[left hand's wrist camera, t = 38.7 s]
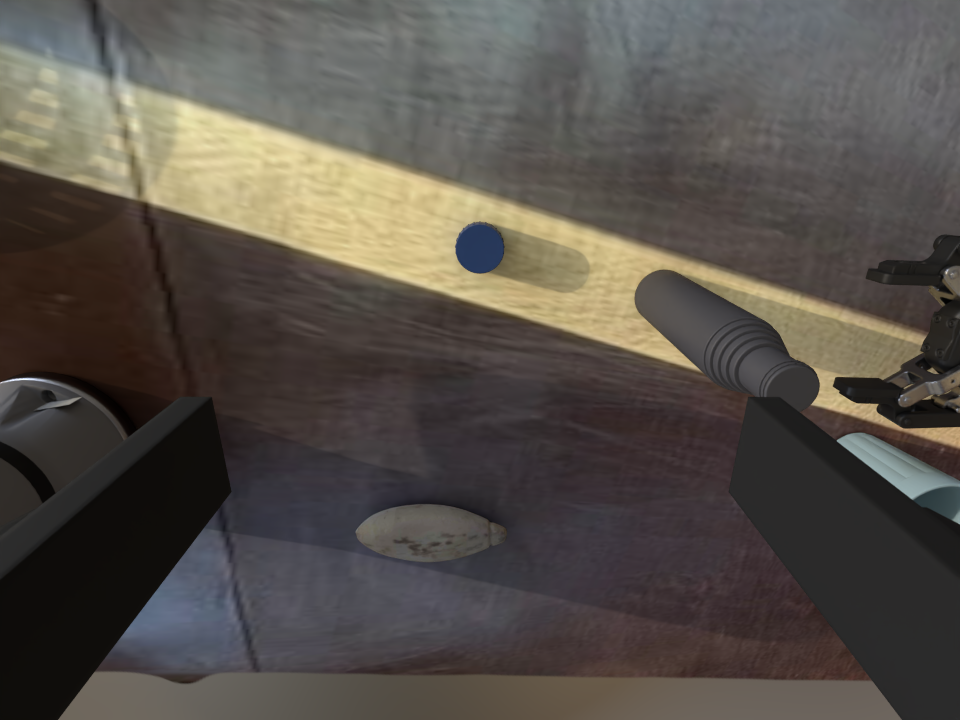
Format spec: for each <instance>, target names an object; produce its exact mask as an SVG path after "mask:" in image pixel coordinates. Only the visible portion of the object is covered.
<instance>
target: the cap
mask: <svg viewBox="0 0 960 720" xmlns="http://www.w3.org/2000/svg"><path fill="white" fill-rule="evenodd" d="M456 241H457V243H456V246H455V248H456V255H457V258H458V260H459V262H460V264H461V265H462V266H463V267H464V268H465V269H467V270H468V271H470V272H473V273H486V272H489V271H491V270H493V269H494V268H496V267H497V266H498V265H499V263H500V262H501V260H502V257H503V254H504V244H503V242H504V241H503V238H502V237H501V234H500V233H499V232H498V230H497V228H495V227H493V226H492V224H491V225H490V224H488V223H486V222H485V223H484V222H480V221H479V222H476V223H475V222H473V223H472V224H470V225H469V224H468V226H466V227H465V228H463V230H462V231H461V233H459V237H458V238H457V240H456Z"/></svg>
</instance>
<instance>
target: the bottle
mask: <svg viewBox="0 0 960 720" xmlns="http://www.w3.org/2000/svg"><path fill="white" fill-rule="evenodd" d="M635 305H636V308H637V310H638V312H639V313H640V314H641V315H642V316H643V317H644V318H645V319H646V320H647V321H648V322H649V323H650V324H652V325H653V326H654V327H655V328H656V329H657V330H658V331H659V332H660V333H661V334H662V335H663V336H664V337H665V338H667V339H668V340H669V341H670V342H671V343H672V344H673V345H674V346H675V347H676V348H677V349H678V350H679V351H681V352H682V353H683V354H684V355H685V356H686V357H687V358H688V359H689V360H690V361H691V362H692V363H693V364H694V365H696V366H697V367H698V368H699V369H700V370H701V371H702V372H703V373H704V374H705V375H706V376H707V377H708V378H710V379H711V380H712V381H713V382H714V383H716V384H717V385H719V386H722V387H723V388H726V389H728V390H732V391H737V392H742V393H747V394H752V395H754V396H756V397H780V398H782V399H783V400H784V401H786V402H787V403H788V404H789V405H791V406H792V407H793V408H795V409H796V410H797V411H798V412H801V411H803V410H804V409H806V408H807V407H809V406H810V405H811V404H812V403H813V401H814V400H815V399H816V397H817V395H818V392H819V387H820V384H819V379H818V377H817V374H816V372H815V371H814V369H812V368H811V367H810V366H808V365H806V364H805V363H803V362H801V361H798V360H795V359H793V358H792V357H790V355H789V353H788V351H787V349H786V347H785V345H784V343H783V341H782V339H781V337H780V335H779V334H778V332H777V331H776V330H775V329H774V328H773V327H772V326H771V325H770V324H769V323H767V322H766V321H764V320H762V319H760V318H758V317H757V316H755V315H753V314H751V313H749V312H747V311H746V310H744V309H742V308H740V307H738V306H736V305H735V304H733V303H731V302H729V301H727V300H726V299H724V298H722V297H720V296H718V295H716V294H715V293H713V292H711V291H709V290H707V289H705V288H704V287H702V286H700V285H698V284H696V283H695V282H693V281H691V280H689V279H687V278H685V277H684V276H682V275H680V274H678V273H676V272H674V271H671V270H658V271H655V272H652V273H651V274H649V275H647V276H646V277H645V278H644V279H643V280H642V281H641V282H640V284H639V285H638V287H637V289H636V293H635Z"/></svg>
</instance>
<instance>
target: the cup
mask: <svg viewBox="0 0 960 720" xmlns="http://www.w3.org/2000/svg"><path fill="white" fill-rule="evenodd" d="M837 442H839V443H840V444H841V445H842V446H844V447H845V448H846V449H848V450H849V451H850V452H851V453H853V454H854V455H855V456H857V457H858V458H859V459H860V460H862V461H863V462H864V463H866V464H867V465H868V466H869V467H871V468H872V469H873V470H875V471H876V472H877V473H879V474H880V475H881V476H882V477H884V478H885V479H886V480H888V481H889V482H890V483H891V484H893V485H894V486H895V487H897V488H898V489H899V490H900V491H902V492H903V493H904V494H906V495H907V496H908V497H910V498H911V499H912V500H913V501H915V502H916V503H917V504H919V505H920V506H921V507H927V508H929V509H931V510H933V511H935V512H937V513H939V514H941V515H943V516H945V517H947V518H949V519H951V520H953V521H954V522H956V523H958V524H960V481H959V480H957V479H955V478H953V477H951V476H949V475H947V474H945V473H943V472H941V471H940V470H938V469H936V468H934V467H932V466H930V465H928V464H926V463H924V462H922V461H920V460H919V459H917V458H915V457H913V456H911V455H909V454H907V453H905V452H903V451H901V450H899V449H897V448H896V447H894V446H892V445H890V444H888V443H886V442H884V441H882V440H880V439H878V438H876V437H874V436H872V435H869V434H866V433H852V434H848V435H846V436H844V437H842V438H840V439H838V440H837Z"/></svg>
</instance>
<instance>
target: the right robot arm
mask: <svg viewBox="0 0 960 720" xmlns="http://www.w3.org/2000/svg"><path fill="white" fill-rule="evenodd" d="M933 247H934V250H935V251H934V252H933V254H932V255H931V256H930V257H929V258H928V259H926V260H924V261H900V260H886V261H883V262H880V263H879V266H878V269H868V272H867V276H866V279H869V280H872V281H875V282H879V283H883V284H891V285H922V286H929V287H930V288H929V289H928V291H929V292H930V293H931V294H932V295H933V296H934V297H935V298H936V299H937V301H938V302H939V303H940V304H941V305H942V306H943V307H942V308H941V309H940V311H939V312H934V314H933V317H932V320H931V326H930V332H929V334H928V335H927V337H926V338H925V340H924V342H923V344H922V347H921V350H920V351H922V352H924V353H922V354H920V355H918V356H917V357H915V358H913V359H911V360H909V361H908V362H906V363H904V364H902V365H901V370H900V371H899V372H897V373H895V374H893V375H891V376H890V377H888V378H886V379H884V380H881V379H879V378H855V377H836V378H835V381H834V384H833V387H834V388H836V389H837V390H839V393H840V394H842V395H843V396H845V397H846V398H848V399H849V400H851V401H853V402H855V403H868V404H869V403H870V404H879V405H878V406H877V412H878V413H879V414H881V415H882V416H884V417H886V418H887V419H889V420H891V421H892V422H894V423H895V424H897V425H899V426H900V427H902V428H940V427H960V236H954V235H941V236H939V237H938V238H937V239H936V240H935V241H934V244H933ZM930 368H933V369H935V370H936V371H937V372H938V373H939V374H933V373H931V372H928V371H927V370H928V369H930ZM910 384H913V385H911V386H910V387H908V388H906V389H904V387H906V386H908V385H910ZM950 390H951V391H950ZM948 391H950V392H949V393H947V394H944V393H946V392H948ZM933 394H935V395H933ZM941 394H942V395H941ZM930 395H933V396H932V397H931V399H929V400H922V399H924V398H926V397H928V396H930ZM938 395H940V396H938Z"/></svg>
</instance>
